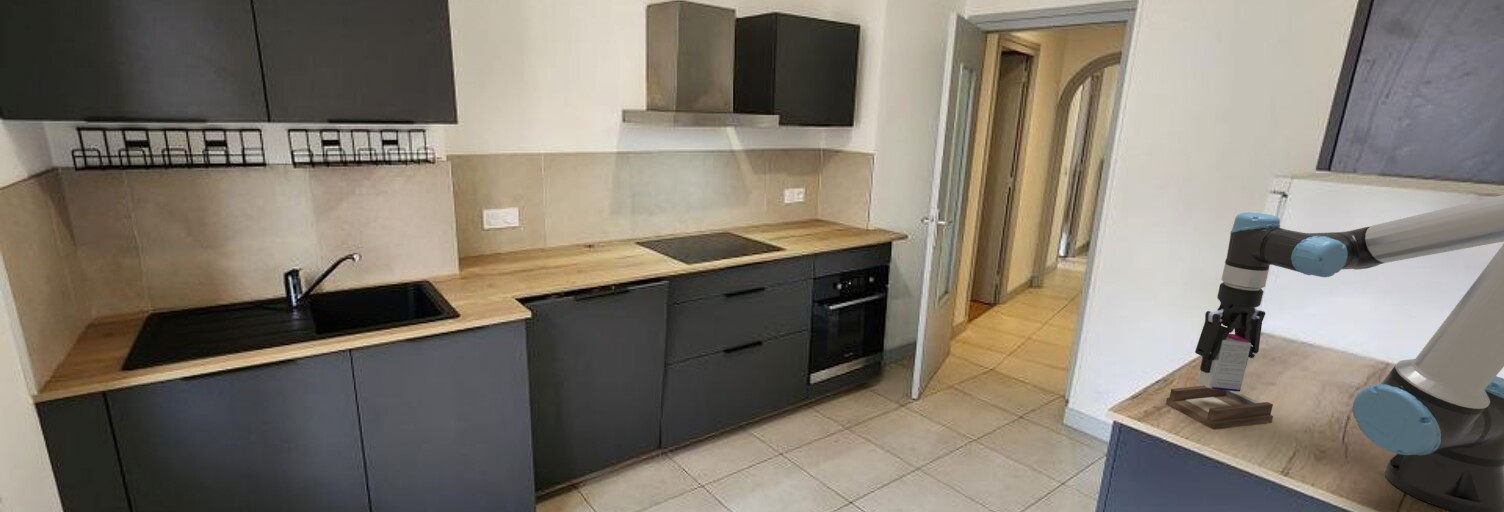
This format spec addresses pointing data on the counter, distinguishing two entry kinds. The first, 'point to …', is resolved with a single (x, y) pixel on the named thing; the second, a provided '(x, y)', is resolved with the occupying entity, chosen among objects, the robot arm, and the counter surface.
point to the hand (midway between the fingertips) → (1219, 383)
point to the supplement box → (1231, 363)
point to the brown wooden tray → (1219, 407)
